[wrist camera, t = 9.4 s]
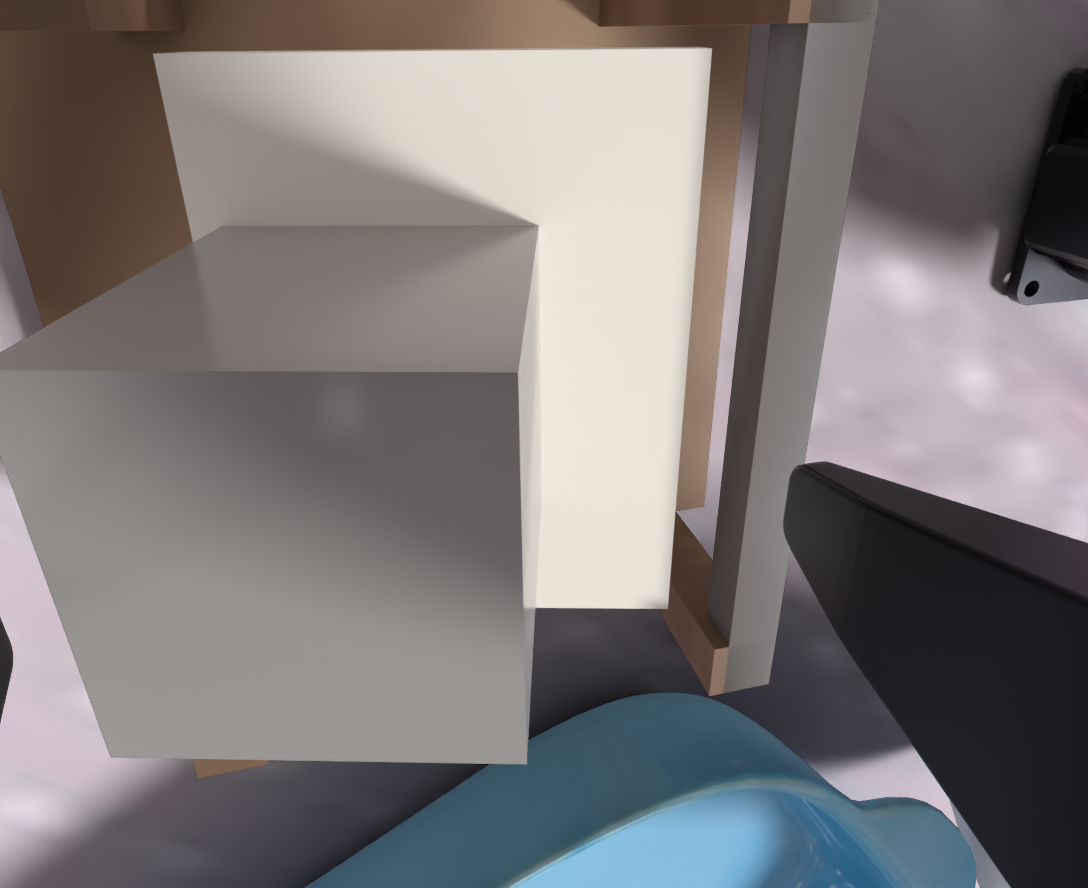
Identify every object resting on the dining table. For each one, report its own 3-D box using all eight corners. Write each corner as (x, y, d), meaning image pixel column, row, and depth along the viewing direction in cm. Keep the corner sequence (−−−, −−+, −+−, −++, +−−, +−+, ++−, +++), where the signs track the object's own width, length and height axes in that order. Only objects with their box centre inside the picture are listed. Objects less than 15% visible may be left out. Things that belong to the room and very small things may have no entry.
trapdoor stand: (740, -86, 18) (1067, -175, 10) (690, 490, 25) (861, 698, 17) (-69, -104, 14) (-518, -263, 7) (135, 570, 21) (32, 877, 14)
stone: (538, 225, 12) (517, 372, 7) (541, 499, 15) (527, 763, 9) (222, 225, 13) (-31, 370, 7) (273, 497, 15) (110, 758, 10)
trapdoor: (699, 47, 12) (711, 48, 11) (661, 572, 17) (667, 608, 16) (187, 52, 13) (152, 54, 11) (287, 569, 17) (269, 605, 16)
